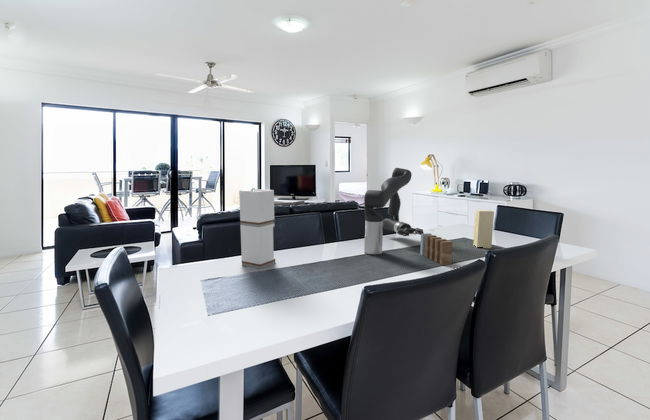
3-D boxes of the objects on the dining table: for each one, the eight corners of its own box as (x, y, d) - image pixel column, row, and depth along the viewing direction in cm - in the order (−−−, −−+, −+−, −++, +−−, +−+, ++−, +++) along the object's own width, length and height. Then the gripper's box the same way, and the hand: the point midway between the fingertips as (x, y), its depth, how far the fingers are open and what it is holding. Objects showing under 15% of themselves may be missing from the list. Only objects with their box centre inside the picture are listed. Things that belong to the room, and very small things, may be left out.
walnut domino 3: (434, 261, 165) (435, 239, 164) (443, 260, 166) (444, 238, 165) (436, 262, 163) (437, 240, 162) (445, 262, 165) (446, 239, 163)
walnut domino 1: (424, 256, 174) (425, 235, 172) (433, 256, 175) (434, 235, 174) (426, 257, 172) (427, 236, 170) (435, 257, 173) (436, 235, 172)
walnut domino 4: (439, 264, 161) (440, 241, 159) (448, 263, 162) (450, 240, 161) (441, 265, 159) (443, 242, 158) (451, 264, 160) (452, 241, 159)
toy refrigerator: (486, 245, 198) (489, 209, 195) (491, 248, 191) (494, 211, 188) (472, 245, 199) (474, 209, 196) (477, 248, 191) (479, 211, 189)
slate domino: (420, 254, 178) (421, 233, 177) (428, 253, 180) (429, 233, 178) (422, 255, 176) (423, 234, 175) (430, 254, 178) (431, 234, 176)
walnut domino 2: (429, 259, 170) (430, 237, 168) (438, 258, 171) (439, 236, 169) (431, 260, 168) (432, 238, 166) (440, 259, 169) (441, 237, 167)
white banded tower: (275, 263, 163) (273, 190, 158) (260, 268, 154) (258, 191, 149) (257, 259, 169) (255, 189, 164) (241, 265, 160) (239, 190, 155)
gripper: (391, 222, 201) (404, 227, 185) (413, 222, 204) (427, 226, 188) (391, 235, 202) (403, 241, 186) (413, 234, 205) (427, 239, 189)
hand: (415, 233), depth 187 cm, fingers open, 8 cm apart
